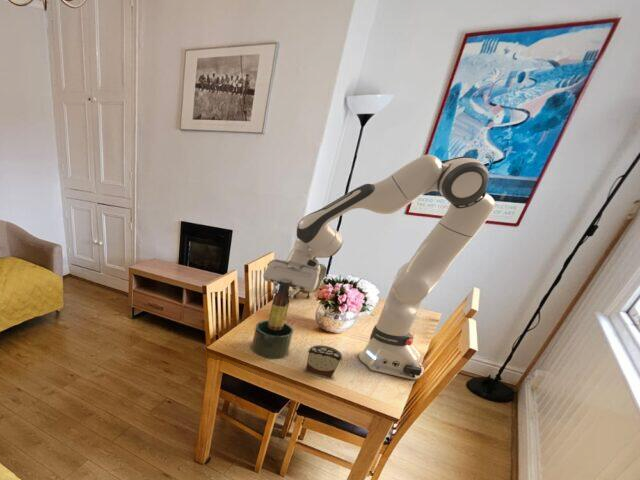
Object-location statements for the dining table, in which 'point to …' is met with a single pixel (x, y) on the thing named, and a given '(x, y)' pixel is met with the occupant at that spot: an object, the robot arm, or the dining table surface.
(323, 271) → the tabletop clock
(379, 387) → the dining table surface
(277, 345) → the bottle cooler
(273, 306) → the sauce bottle
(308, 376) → the dining table surface
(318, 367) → the food container
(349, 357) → the dining table surface
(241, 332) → the dining table surface
